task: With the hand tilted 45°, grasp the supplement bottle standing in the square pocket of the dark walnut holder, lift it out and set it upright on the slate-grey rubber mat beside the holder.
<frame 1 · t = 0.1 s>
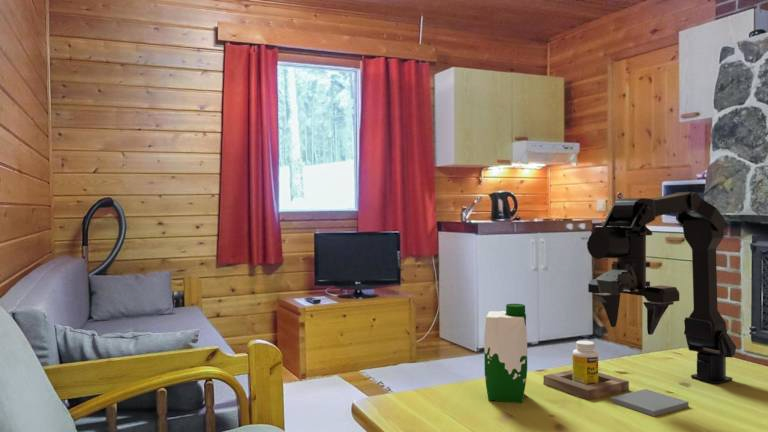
hand: (631, 330, 125), 15 cm above the table, tool pointing down, fingers open, 9 cm apart
slate mat: (649, 404, 122), on the table
supplement bottle: (585, 388, 134), resting in walnut holder
walnut holder: (585, 387, 134), on the table
milk carton: (506, 397, 128), on the table
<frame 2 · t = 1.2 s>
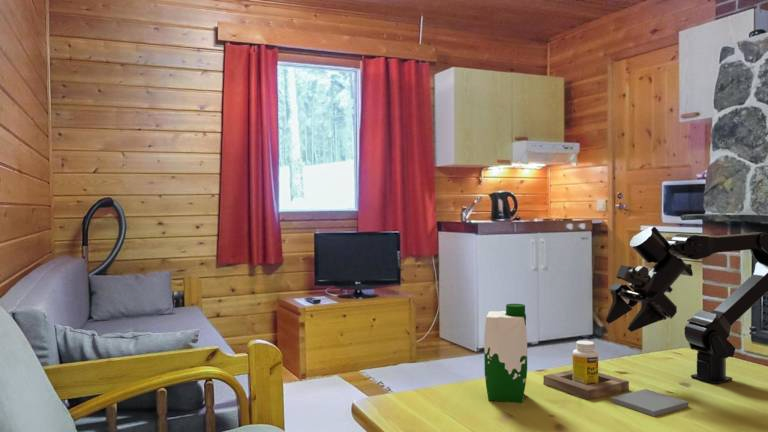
hand: (617, 326, 135), 14 cm above the table, tool tilted 45°, fingers open, 9 cm apart
nothing on the table moved.
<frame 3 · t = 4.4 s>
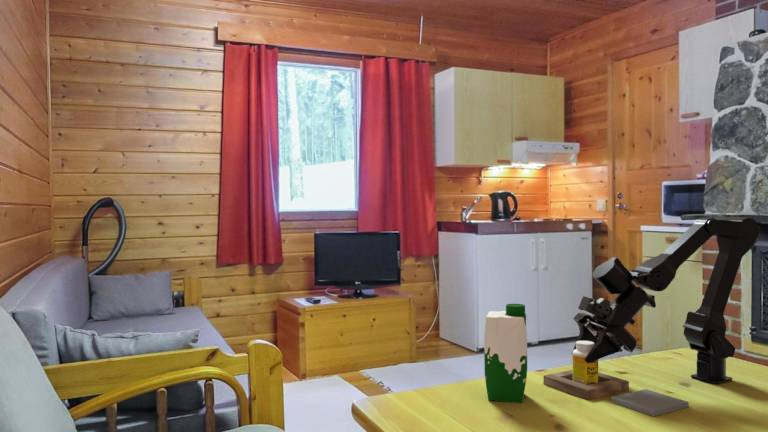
hand: (579, 358, 134), 7 cm above the table, tool tilted 45°, fingers closed on supplement bottle, 5 cm apart
supplement bottle: (585, 387, 134), resting in walnut holder, touching gripper
everything else where it was.
when the fingers open (9 cm above the table, at t = 8.7 s): supplement bottle stays where it is, resting on slate mat.
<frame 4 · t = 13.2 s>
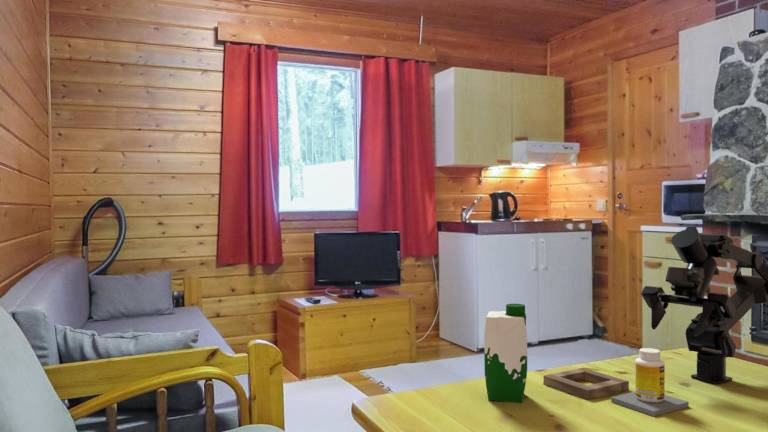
hand: (673, 331, 128), 14 cm above the table, tool tilted 45°, fingers open, 9 cm apart
supplement bottle: (649, 400, 122), point 1 cm above the table, touching slate mat
everything else where it was.
at the end: supplement bottle inside the target area on the slate mat (0.1 cm from its centre), point 0.8 cm above the slate mat's base; supplement bottle tilted 0°; the gripper is holding nothing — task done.
